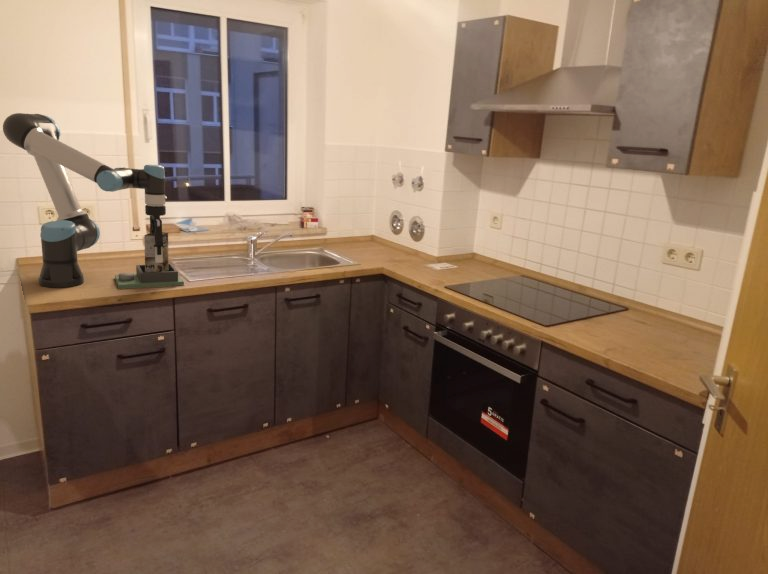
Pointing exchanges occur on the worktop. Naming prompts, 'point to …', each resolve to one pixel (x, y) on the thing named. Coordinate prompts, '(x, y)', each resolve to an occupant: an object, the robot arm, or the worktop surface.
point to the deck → (148, 278)
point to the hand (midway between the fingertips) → (156, 259)
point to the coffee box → (150, 254)
